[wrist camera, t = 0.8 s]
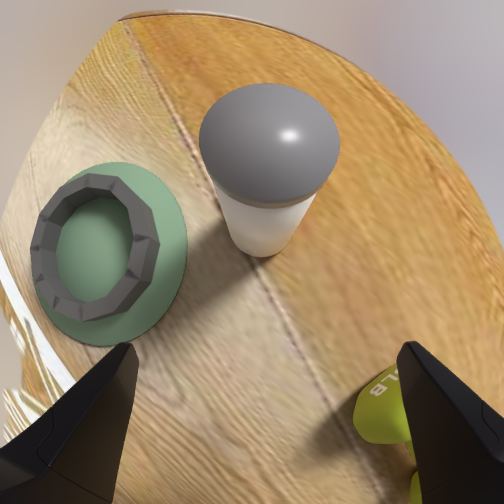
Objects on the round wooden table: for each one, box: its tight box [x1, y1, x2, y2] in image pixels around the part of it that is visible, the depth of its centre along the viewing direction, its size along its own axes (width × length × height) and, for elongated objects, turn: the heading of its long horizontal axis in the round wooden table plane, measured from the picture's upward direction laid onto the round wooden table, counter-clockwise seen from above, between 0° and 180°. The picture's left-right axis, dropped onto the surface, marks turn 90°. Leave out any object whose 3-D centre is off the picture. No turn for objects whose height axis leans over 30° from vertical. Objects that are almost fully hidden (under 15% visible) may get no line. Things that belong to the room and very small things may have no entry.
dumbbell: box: [353, 364, 422, 504], centre depth 16 cm, size 16×8×7 cm, turn 33°
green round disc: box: [30, 162, 187, 346], centre depth 21 cm, size 16×16×3 cm
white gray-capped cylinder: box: [199, 83, 340, 257], centre depth 17 cm, size 5×5×13 cm
